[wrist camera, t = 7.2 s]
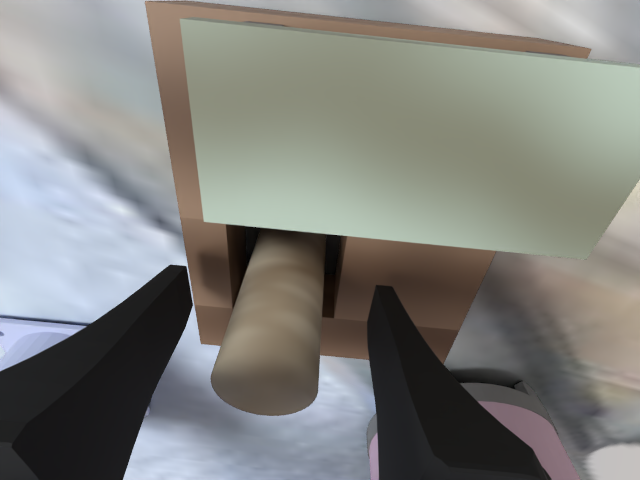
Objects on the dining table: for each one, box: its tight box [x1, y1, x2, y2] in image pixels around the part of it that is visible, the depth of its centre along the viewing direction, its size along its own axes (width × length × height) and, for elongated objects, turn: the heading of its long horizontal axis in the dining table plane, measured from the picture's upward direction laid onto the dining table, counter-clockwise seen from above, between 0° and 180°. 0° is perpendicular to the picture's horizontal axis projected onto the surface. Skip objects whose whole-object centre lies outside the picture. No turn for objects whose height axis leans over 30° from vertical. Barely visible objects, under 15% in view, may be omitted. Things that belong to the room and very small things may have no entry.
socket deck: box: [145, 1, 640, 364], centre depth 13 cm, size 14×12×7 cm
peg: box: [211, 228, 326, 416], centre depth 14 cm, size 3×3×8 cm
